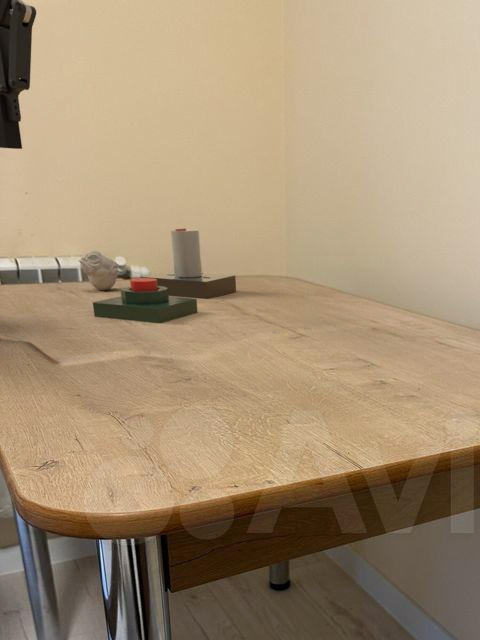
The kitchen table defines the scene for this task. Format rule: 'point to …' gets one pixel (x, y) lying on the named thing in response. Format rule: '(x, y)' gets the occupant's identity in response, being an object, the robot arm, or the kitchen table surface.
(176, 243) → the grey cylinder
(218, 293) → the panel
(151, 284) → the button
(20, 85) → the robot arm
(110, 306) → the block
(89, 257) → the frog figurine
